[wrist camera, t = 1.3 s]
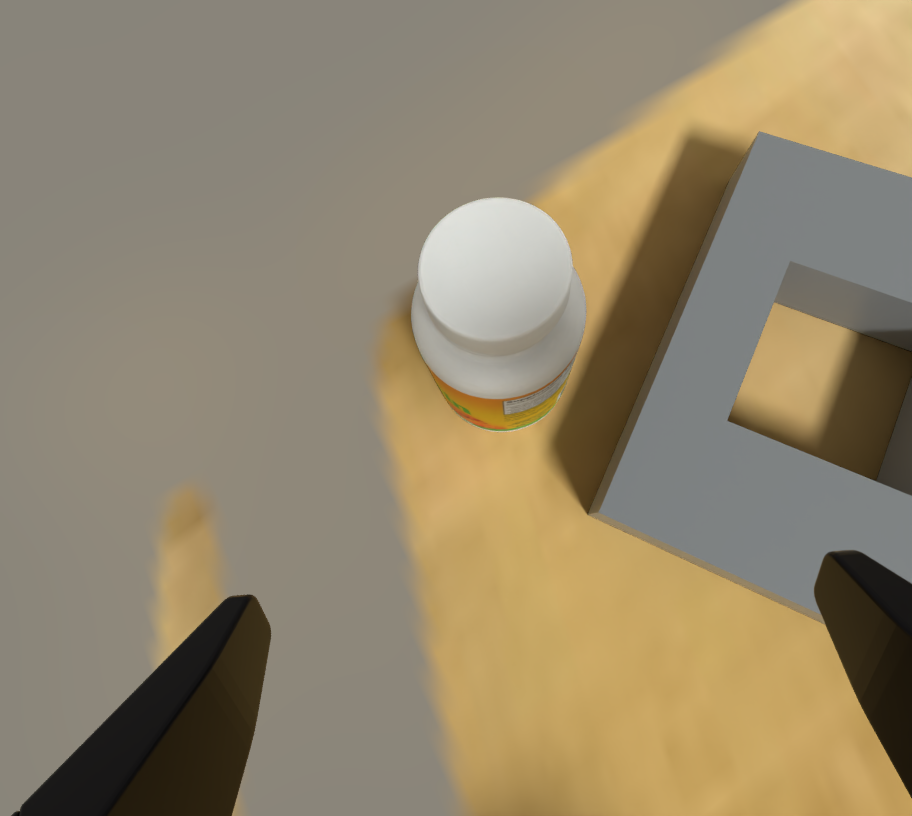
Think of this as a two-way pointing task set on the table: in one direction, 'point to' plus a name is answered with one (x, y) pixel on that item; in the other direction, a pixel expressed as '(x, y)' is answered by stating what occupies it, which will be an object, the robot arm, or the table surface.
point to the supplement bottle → (498, 312)
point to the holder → (726, 362)
